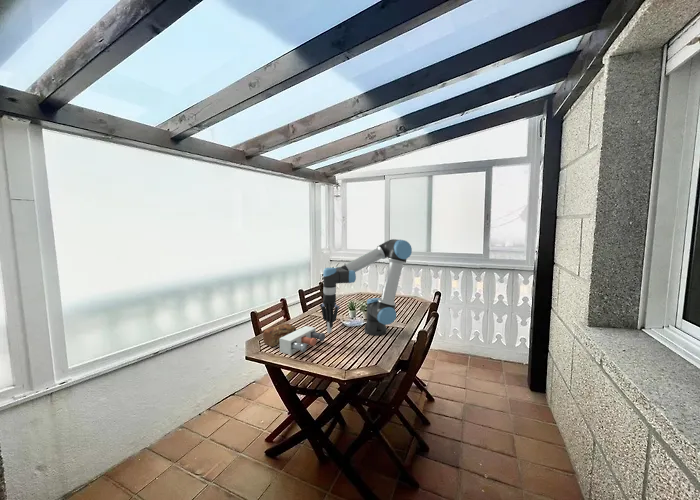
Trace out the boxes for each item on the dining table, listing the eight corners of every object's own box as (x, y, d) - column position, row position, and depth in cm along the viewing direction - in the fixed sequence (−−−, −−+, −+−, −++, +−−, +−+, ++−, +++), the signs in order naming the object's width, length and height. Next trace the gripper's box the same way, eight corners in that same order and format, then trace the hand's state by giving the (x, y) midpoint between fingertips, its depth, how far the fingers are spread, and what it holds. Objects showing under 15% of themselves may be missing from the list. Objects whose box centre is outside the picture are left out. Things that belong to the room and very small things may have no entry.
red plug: (316, 344, 170) (316, 337, 170) (311, 347, 166) (311, 339, 166) (301, 341, 176) (301, 333, 175) (296, 343, 172) (296, 336, 171)
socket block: (315, 340, 183) (315, 327, 182) (290, 354, 162) (290, 341, 161) (305, 337, 187) (305, 325, 186) (279, 351, 166) (279, 338, 165)
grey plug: (325, 339, 178) (325, 332, 178) (320, 342, 174) (320, 334, 174) (310, 336, 184) (310, 329, 183) (306, 338, 180) (306, 331, 179)
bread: (272, 348, 171) (271, 331, 171) (262, 343, 179) (262, 327, 178) (297, 339, 185) (296, 323, 184) (287, 334, 192) (287, 320, 192)
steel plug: (307, 350, 162) (307, 342, 162) (301, 353, 158) (301, 345, 158) (291, 346, 168) (291, 338, 168) (286, 349, 164) (286, 341, 164)
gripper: (342, 293, 171) (341, 332, 173) (324, 291, 178) (324, 328, 179) (335, 296, 165) (335, 336, 166) (317, 293, 171) (316, 332, 173)
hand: (329, 332), depth 173 cm, fingers closed
